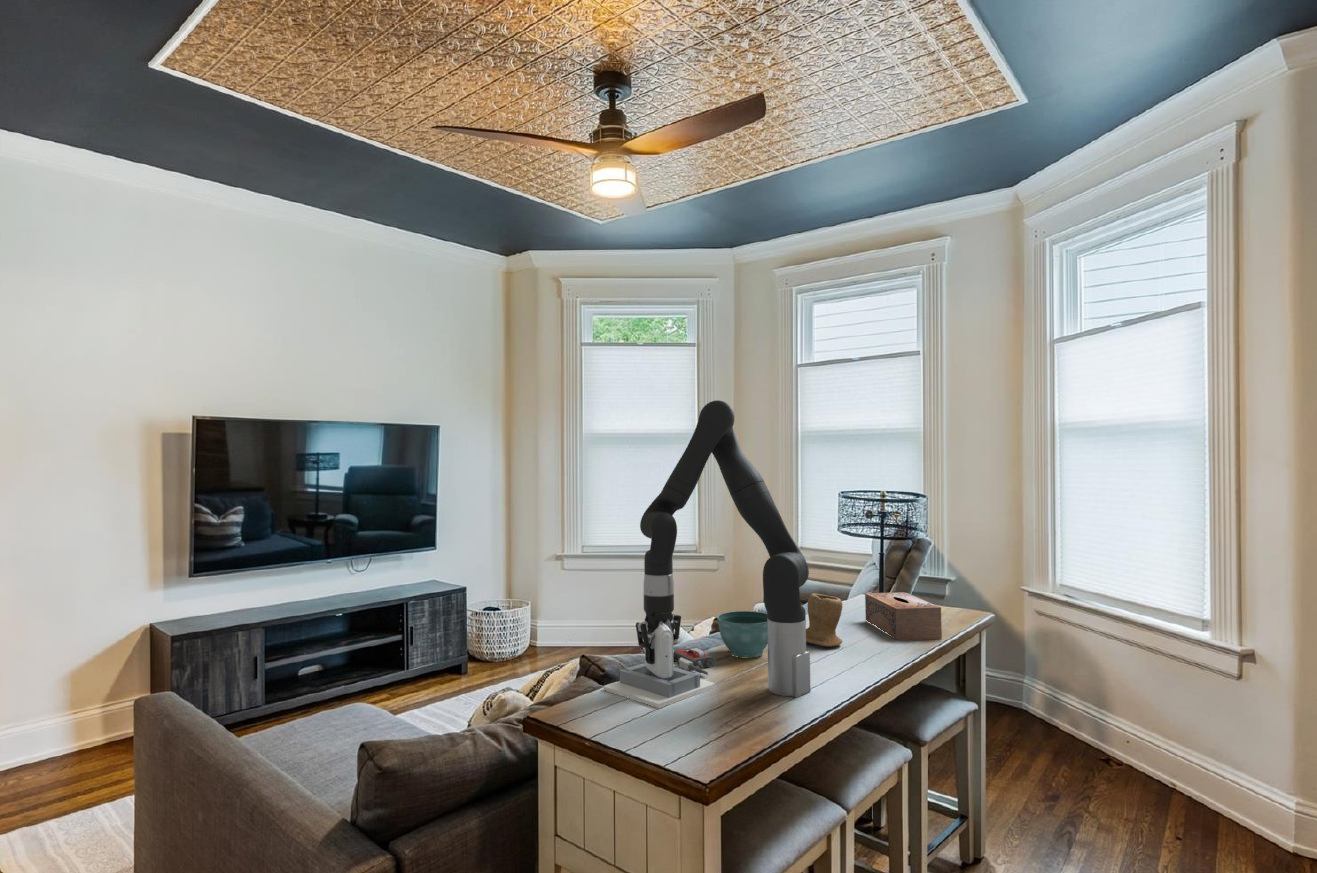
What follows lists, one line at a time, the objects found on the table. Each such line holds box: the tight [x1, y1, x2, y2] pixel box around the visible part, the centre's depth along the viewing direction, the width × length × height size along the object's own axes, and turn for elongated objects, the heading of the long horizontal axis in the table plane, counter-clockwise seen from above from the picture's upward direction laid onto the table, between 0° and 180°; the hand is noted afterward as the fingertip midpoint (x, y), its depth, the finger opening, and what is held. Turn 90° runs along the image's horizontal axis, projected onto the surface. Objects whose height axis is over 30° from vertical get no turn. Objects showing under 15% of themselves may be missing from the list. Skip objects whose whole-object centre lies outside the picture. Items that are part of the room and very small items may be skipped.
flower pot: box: [716, 610, 768, 659], centre depth 202 cm, size 16×16×11 cm
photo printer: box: [644, 623, 674, 678], centre depth 172 cm, size 10×4×12 cm, turn 24°
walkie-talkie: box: [673, 646, 714, 676], centre depth 190 cm, size 9×4×20 cm
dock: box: [602, 662, 716, 709], centre depth 172 cm, size 19×20×4 cm
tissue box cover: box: [864, 591, 943, 641], centre depth 229 cm, size 26×14×10 cm, turn 5°
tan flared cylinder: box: [806, 592, 843, 647], centre depth 213 cm, size 15×12×15 cm
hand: (659, 660), depth 172 cm, fingers closed on photo printer, 5 cm apart
